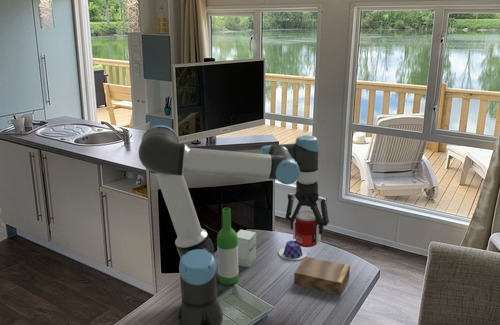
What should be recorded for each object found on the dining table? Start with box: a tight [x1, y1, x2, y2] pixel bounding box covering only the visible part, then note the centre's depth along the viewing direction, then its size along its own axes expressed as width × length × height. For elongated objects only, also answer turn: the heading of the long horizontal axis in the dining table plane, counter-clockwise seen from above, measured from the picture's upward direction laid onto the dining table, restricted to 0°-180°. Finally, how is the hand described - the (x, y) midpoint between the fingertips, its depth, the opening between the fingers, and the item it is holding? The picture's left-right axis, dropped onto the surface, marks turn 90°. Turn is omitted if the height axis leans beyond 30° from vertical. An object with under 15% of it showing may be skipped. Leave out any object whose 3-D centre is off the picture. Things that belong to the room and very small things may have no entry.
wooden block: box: [293, 255, 351, 296], centre depth 179 cm, size 18×13×5 cm
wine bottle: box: [216, 206, 240, 286], centre depth 176 cm, size 8×8×30 cm
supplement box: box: [236, 229, 257, 268], centre depth 192 cm, size 7×7×13 cm
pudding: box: [278, 240, 308, 261], centre depth 199 cm, size 12×12×5 cm
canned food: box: [295, 210, 318, 248], centre depth 168 cm, size 8×8×11 cm
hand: (306, 239), depth 169 cm, fingers closed on canned food, 8 cm apart
